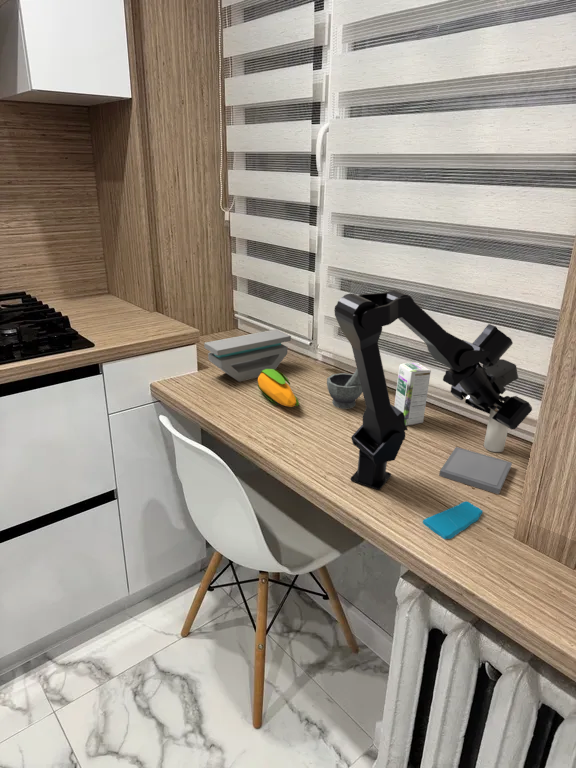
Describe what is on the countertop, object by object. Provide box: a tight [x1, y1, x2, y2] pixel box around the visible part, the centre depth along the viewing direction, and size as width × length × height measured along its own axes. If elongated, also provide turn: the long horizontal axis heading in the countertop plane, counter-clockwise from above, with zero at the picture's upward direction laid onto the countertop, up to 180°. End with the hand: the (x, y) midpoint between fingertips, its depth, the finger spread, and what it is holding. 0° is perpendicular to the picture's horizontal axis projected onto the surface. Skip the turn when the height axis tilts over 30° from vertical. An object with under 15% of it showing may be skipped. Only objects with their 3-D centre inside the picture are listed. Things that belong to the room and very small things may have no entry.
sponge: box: [422, 500, 484, 540], centre depth 97 cm, size 2×12×6 cm
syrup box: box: [393, 362, 432, 427], centre depth 131 cm, size 6×6×14 cm
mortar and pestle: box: [326, 367, 363, 410], centre depth 139 cm, size 11×9×12 cm
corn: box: [257, 369, 300, 408], centre depth 141 cm, size 7×8×20 cm
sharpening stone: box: [203, 329, 292, 382], centre depth 158 cm, size 25×8×11 cm, turn 125°
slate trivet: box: [439, 446, 512, 495], centre depth 112 cm, size 12×12×1 cm
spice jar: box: [483, 406, 509, 453], centre depth 120 cm, size 4×4×10 cm
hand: (504, 418), depth 119 cm, fingers closed on spice jar, 4 cm apart
